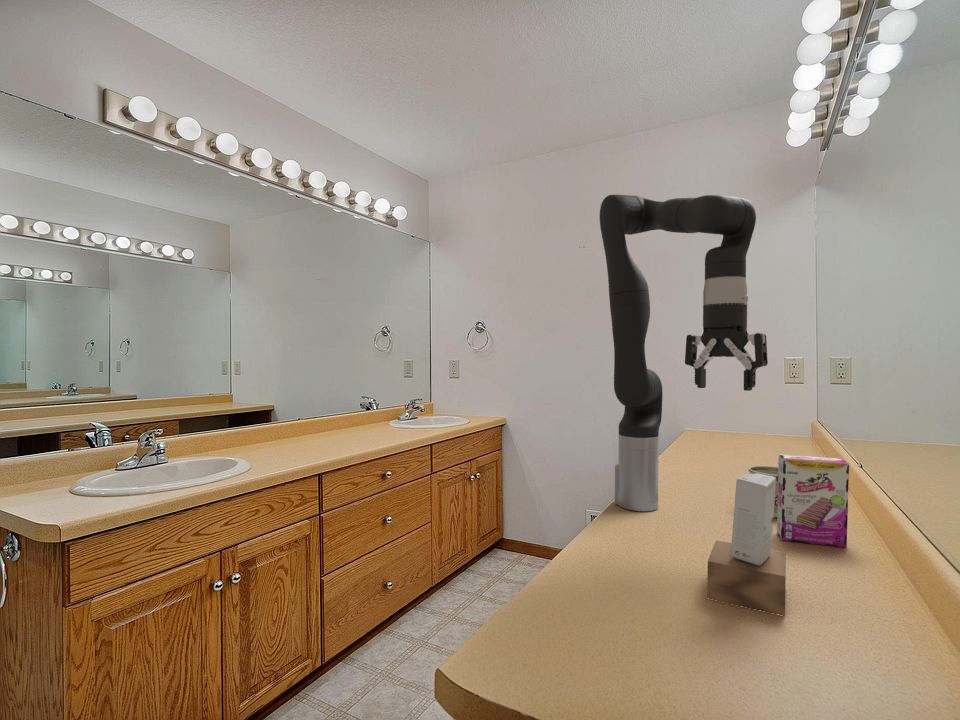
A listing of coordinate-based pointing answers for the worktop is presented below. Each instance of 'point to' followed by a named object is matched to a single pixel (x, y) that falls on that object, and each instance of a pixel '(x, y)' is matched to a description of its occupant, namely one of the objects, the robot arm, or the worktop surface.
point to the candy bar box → (813, 500)
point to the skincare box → (753, 517)
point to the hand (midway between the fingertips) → (724, 389)
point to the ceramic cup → (771, 472)
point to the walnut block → (747, 580)
